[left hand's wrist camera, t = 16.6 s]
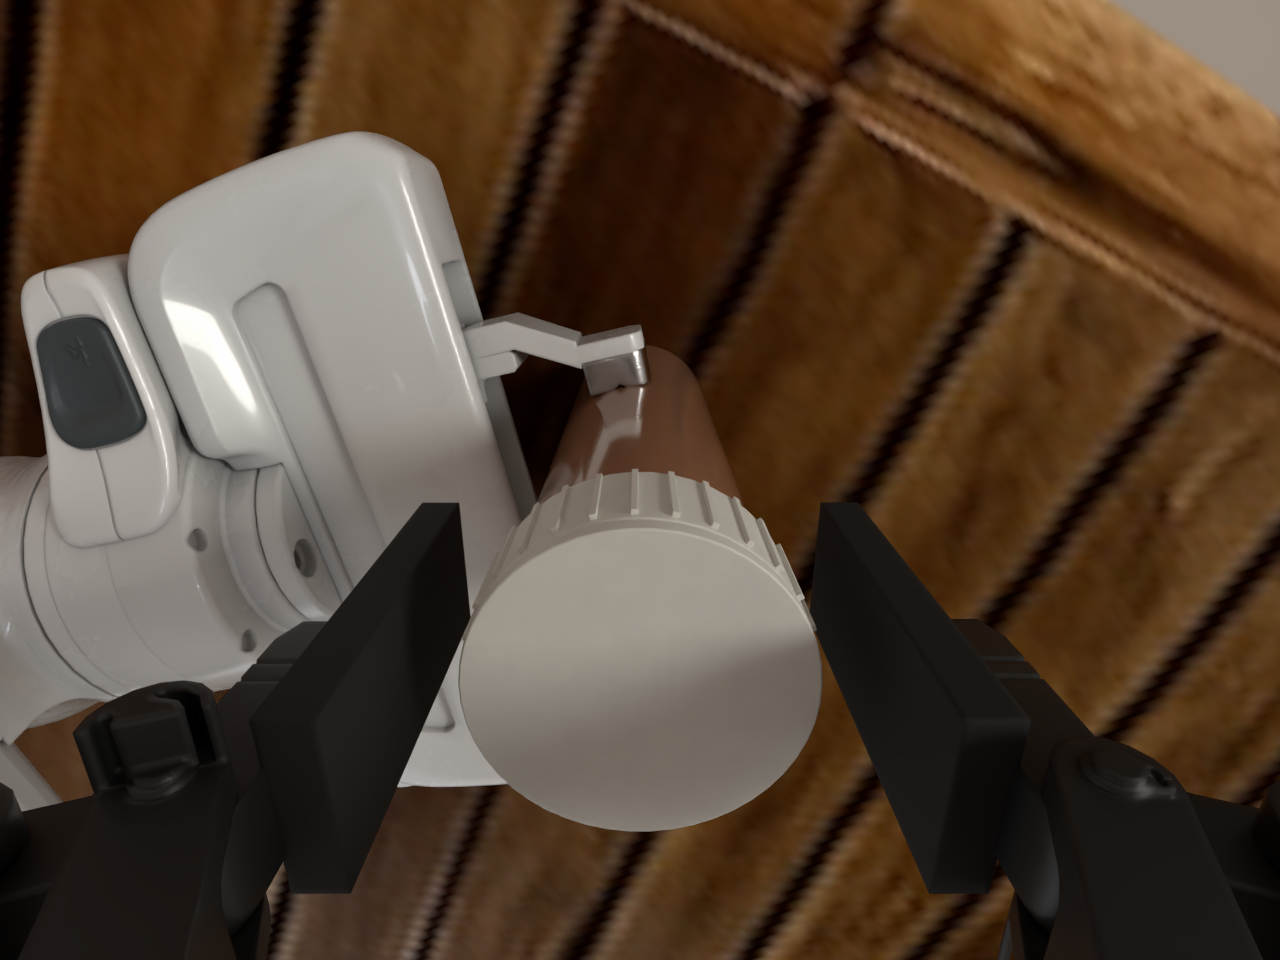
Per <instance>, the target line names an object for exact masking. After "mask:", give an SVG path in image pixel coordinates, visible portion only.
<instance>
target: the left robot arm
mask: <svg viewBox="0 0 1280 960" xmlns="http://www.w3.org/2000/svg"><path fill="white" fill-rule="evenodd" d="M810 614H811V616H812V619H813V621H814V623H815V625H816V629H817V631H815V632H816V635H817V637H818V639H819V641H820V644H821V646H822V648H823V651H824V653H825V655H826V657H827V660H828V662H829V664H830V667H831V669H832V671H833V674H834V676H835V678H836V680H837V683H838V685H839V687H840V690H841V692H842V694H843V696H844V699H845V701H846V703H847V706H848V708H849V710H850V713H851V715H852V717H853V719H854V722H855V724H856V726H857V729H858V731H859V733H860V736H861V738H862V740H863V742H864V745H865V747H866V749H867V752H868V754H869V756H870V758H871V761H872V763H873V765H874V768H875V770H876V772H877V775H878V777H879V779H880V781H881V784H882V786H883V788H884V791H885V793H886V795H887V797H888V800H889V802H890V804H891V807H892V809H893V811H894V814H895V816H896V818H897V820H898V823H899V825H900V827H901V830H902V832H903V834H904V836H905V839H906V841H907V843H908V846H909V848H910V850H911V853H912V855H913V857H914V859H915V862H916V864H917V866H918V869H919V871H920V873H921V876H922V878H923V880H924V882H925V885H926V887H927V889H928V892H929V894H988V893H989V889H990V885H991V881H992V877H993V873H994V869H995V865H996V861H997V859H998V861H999V863H1000V864H1001V866H1002V868H1003V870H1004V871H1005V873H1006V875H1007V877H1008V878H1009V880H1010V882H1011V884H1012V885H1013V887H1014V889H1015V891H1014V895H1013V899H1012V902H1011V906H1010V910H1009V914H1008V918H1007V921H1006V925H1005V929H1004V933H1003V936H1002V940H1001V944H1000V949H999V955H998V960H1009V958H1010V954H1011V951H1012V949H1013V957H1014V960H1280V780H1278V781H1277V782H1275V783H1274V784H1272V785H1271V786H1269V787H1268V789H1267V792H1266V794H1265V796H1264V799H1263V801H1262V804H1261V806H1260V808H1254V807H1250V806H1245V805H1241V804H1236V803H1232V802H1227V801H1223V800H1218V799H1214V798H1209V797H1205V796H1200V795H1196V794H1192V793H1188V792H1186V791H1185V790H1184V788H1183V787H1182V786H1181V784H1180V783H1179V781H1178V780H1177V779H1176V777H1175V776H1174V775H1173V774H1172V773H1171V772H1170V771H1168V770H1167V769H1166V768H1164V767H1163V766H1162V765H1161V764H1159V763H1158V762H1157V761H1156V760H1154V759H1153V758H1151V757H1149V756H1147V755H1145V754H1143V753H1142V752H1140V751H1138V750H1136V749H1134V748H1132V747H1130V746H1128V745H1125V744H1122V743H1118V742H1115V741H1112V740H1109V739H1106V738H1102V737H1095V736H1094V735H1093V734H1092V733H1091V732H1090V730H1089V729H1088V728H1087V727H1086V726H1085V725H1084V724H1083V723H1082V722H1081V720H1080V719H1079V718H1078V717H1077V716H1076V715H1075V714H1074V713H1073V712H1072V710H1071V709H1070V708H1069V707H1068V706H1067V705H1066V704H1065V703H1064V701H1063V700H1062V699H1061V698H1060V697H1059V696H1058V695H1057V694H1056V693H1055V691H1054V690H1053V689H1052V688H1051V687H1050V686H1049V685H1048V684H1047V683H1046V681H1045V680H1044V679H1040V677H1039V674H1038V673H1037V671H1036V670H1035V669H1034V668H1033V667H1032V666H1031V665H1030V664H1029V662H1025V661H1024V657H1023V656H1022V655H1021V654H1020V652H1019V651H1018V650H1017V649H1016V648H1015V647H1014V646H1013V645H1012V644H1011V642H1010V641H1009V640H1008V639H1007V638H1006V637H1005V636H1003V635H1002V634H1000V633H999V632H997V631H995V630H994V629H992V628H991V627H989V626H987V625H986V624H984V623H982V622H981V621H979V620H978V619H950V618H949V616H948V615H947V614H946V613H945V611H944V610H943V609H942V608H941V606H940V605H939V604H938V603H937V601H936V600H935V599H934V598H933V596H932V595H931V594H930V593H929V591H928V590H927V589H926V588H925V586H924V585H923V584H922V583H921V581H920V580H919V579H918V578H917V576H916V575H915V574H914V573H913V571H912V570H911V569H910V568H909V566H908V565H907V564H906V562H905V561H904V560H903V559H902V557H901V556H900V555H899V554H898V552H897V551H896V550H895V549H894V547H893V546H892V545H891V544H890V542H889V541H888V540H887V539H886V537H885V536H884V535H883V534H882V532H881V531H880V530H879V529H878V527H877V526H876V525H875V524H874V522H873V521H872V520H871V519H870V517H869V516H868V515H867V514H866V512H865V511H864V510H863V509H862V507H861V506H860V505H859V504H858V503H821V505H820V515H819V525H818V535H817V545H816V555H815V565H814V575H813V585H812V595H811V605H810ZM470 618H471V615H470V605H469V595H468V585H467V575H466V565H465V555H464V545H463V535H462V525H461V515H460V505H459V503H422V504H421V505H420V506H419V507H418V509H417V510H416V511H415V512H414V514H413V515H412V516H411V517H410V519H409V520H408V521H407V522H406V524H405V525H404V526H403V527H402V529H401V530H400V531H399V532H398V534H397V535H396V536H395V537H394V539H393V540H392V541H391V542H390V544H389V545H388V546H387V547H386V549H385V550H384V551H383V552H382V554H381V555H380V556H379V557H378V559H377V560H376V561H375V562H374V564H373V565H372V566H371V568H370V569H369V570H368V571H367V573H366V574H365V575H364V576H363V578H362V579H361V580H360V581H359V583H358V584H357V585H356V586H355V588H354V589H353V590H352V591H351V593H350V594H349V595H348V596H347V598H346V599H345V600H344V601H343V603H342V604H341V605H340V606H339V608H338V609H337V610H336V611H335V613H334V614H333V615H332V616H331V618H330V619H329V620H328V621H303V622H301V623H300V624H298V625H297V626H295V627H293V628H292V629H290V630H289V631H287V632H285V633H284V634H282V635H281V636H279V637H277V638H276V639H275V640H274V641H273V642H272V643H271V644H270V645H269V646H268V647H267V649H266V650H265V651H264V652H263V653H262V654H261V655H260V656H259V658H258V659H257V662H256V664H252V665H251V667H250V668H249V669H248V670H247V671H246V672H245V673H244V674H243V676H242V677H241V681H240V682H236V683H235V685H234V686H233V687H232V688H231V689H230V690H229V691H228V692H227V694H226V695H225V696H224V697H223V698H222V699H221V700H220V701H219V702H218V704H217V705H216V702H215V698H214V694H213V691H212V690H211V689H209V688H208V687H207V686H205V685H204V684H203V683H199V682H192V681H185V680H181V681H172V682H162V683H157V684H154V685H150V686H147V687H143V688H140V689H136V690H133V691H131V692H129V693H127V694H124V695H122V696H120V697H118V698H116V699H113V700H111V701H109V702H107V703H106V704H104V705H103V706H101V707H100V708H99V709H97V710H96V711H94V712H93V713H91V714H90V715H88V716H87V717H86V718H85V719H84V720H83V721H82V723H81V724H80V725H79V726H78V727H77V728H76V729H75V731H74V732H73V735H74V738H75V741H76V744H77V747H78V749H79V752H80V755H81V758H82V760H83V763H84V766H85V769H86V772H87V774H88V777H89V780H90V783H91V786H92V788H93V791H94V794H93V795H92V796H88V797H85V798H80V799H76V800H71V801H67V802H62V803H58V804H53V805H49V806H44V807H40V808H35V809H31V810H26V811H21V808H20V806H19V804H18V801H17V799H16V796H15V794H14V792H13V790H12V789H11V788H9V787H7V786H6V785H4V784H3V783H1V782H0V960H267V951H268V942H269V934H270V925H271V915H270V908H269V902H268V899H267V895H266V891H267V889H268V887H269V886H270V884H271V882H272V880H273V878H274V877H275V875H276V873H277V871H278V870H279V868H280V866H281V864H282V863H283V861H284V865H285V869H286V873H287V877H288V881H289V885H290V889H291V893H292V894H351V892H352V889H353V887H354V885H355V882H356V880H357V878H358V876H359V873H360V871H361V869H362V866H363V864H364V862H365V859H366V857H367V855H368V853H369V850H370V848H371V846H372V843H373V841H374V839H375V836H376V834H377V832H378V830H379V827H380V825H381V823H382V820H383V818H384V816H385V814H386V811H387V809H388V807H389V804H390V802H391V800H392V797H393V795H394V793H395V791H396V788H397V786H398V784H399V781H400V779H401V777H402V775H403V772H404V770H405V768H406V765H407V763H408V761H409V758H410V756H411V754H412V752H413V749H414V747H415V745H416V742H417V740H418V738H419V736H420V733H421V731H422V729H423V726H424V724H425V722H426V719H427V717H428V715H429V713H430V710H431V708H432V706H433V703H434V701H435V699H436V696H437V694H438V692H439V690H440V687H441V685H442V683H443V680H444V678H445V676H446V674H447V671H448V669H449V667H450V664H451V662H452V660H453V657H454V655H455V653H456V651H457V648H458V646H459V644H460V641H461V639H462V637H463V634H464V632H465V629H466V627H467V625H468V623H469V620H470Z"/></svg>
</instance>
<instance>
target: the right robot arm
mask: <svg viewBox="0 0 1280 960" xmlns="http://www.w3.org/2000/svg"><path fill="white" fill-rule="evenodd" d="M21 312H22V318H23V323H24V329H25V333H26V337H27V342H28V346H29V351H30V355H31V360H32V365H33V369H34V374H35V379H36V384H37V389H38V395H39V400H40V406H41V411H42V418H43V425H44V432H45V440H46V449H47V454H46V455H44V456H43V457H40V458H39V457H27V456H0V782H1V783H3V784H4V785H6V786H7V787H9V788H11V789H12V790H13V792H14V794H15V796H16V799H17V801H18V804H19V806H20V808H21V811H26V810H31V809H35V808H40V807H44V806H49V805H53V804H58V803H62V802H63V801H62V800H61V799H60V797H59V796H58V795H57V794H56V793H55V791H54V790H53V789H52V788H51V787H50V785H49V784H48V783H47V782H46V781H45V779H44V778H43V777H42V776H41V775H40V773H39V772H38V771H37V770H36V768H35V767H34V766H33V765H32V764H31V762H30V761H29V760H28V759H27V758H26V756H25V755H24V754H23V753H22V752H21V750H20V749H19V748H18V747H17V746H16V744H15V743H14V741H15V740H16V739H17V738H18V736H19V735H20V734H21V733H22V732H23V731H24V730H25V729H28V728H33V727H38V726H42V725H45V724H49V723H52V722H56V721H59V720H62V719H65V718H67V717H70V716H72V715H74V714H76V713H78V712H80V711H82V710H84V709H86V708H88V707H90V706H92V705H94V704H96V703H98V702H106V703H107V702H109V701H111V700H113V699H116V698H118V697H120V696H122V695H124V694H127V693H129V692H131V691H133V690H136V689H140V688H143V687H147V686H150V685H154V684H157V683H162V682H172V681H181V680H185V681H192V682H199V683H203V684H204V685H205V686H207V687H208V688H209V689H211V690H212V691H213V692H216V691H221V690H226V689H231V688H232V687H233V686H234V685H235V683H236V682H240V681H241V677H242V676H243V674H244V673H245V672H246V671H247V670H248V669H249V668H250V667H251V665H252V664H256V662H257V659H258V658H259V656H260V655H261V654H262V653H263V652H264V651H265V650H266V649H267V647H268V646H269V645H270V644H271V643H272V642H273V641H274V640H275V639H276V638H277V637H279V636H281V635H282V634H284V633H285V632H287V631H289V630H290V629H292V628H293V627H295V626H297V625H298V624H300V623H301V622H303V621H328V620H329V619H330V618H331V616H332V615H333V614H334V613H335V611H336V610H337V609H338V608H339V606H340V605H341V604H342V603H343V601H344V600H345V599H346V598H347V596H348V595H349V594H350V593H351V591H352V590H353V589H354V588H355V586H356V585H357V584H358V583H359V581H360V580H361V579H362V578H363V576H364V575H365V574H366V573H367V571H368V570H369V569H370V568H371V566H372V565H373V564H374V562H375V561H376V560H377V559H378V557H379V556H380V555H381V554H382V552H383V551H384V550H385V549H386V547H387V546H388V545H389V544H390V542H391V541H392V540H393V539H394V537H395V536H396V535H397V534H398V532H399V531H400V530H401V529H402V527H403V526H404V525H405V524H406V522H407V521H408V520H409V519H410V517H411V516H412V515H413V514H414V512H415V511H416V510H417V509H418V507H419V506H420V505H421V504H422V503H459V505H460V515H461V525H462V535H463V545H464V555H465V565H466V575H467V585H468V595H469V605H470V615H471V616H472V613H473V611H474V609H473V608H472V606H473V603H474V601H475V599H476V597H477V594H478V592H479V590H480V588H481V585H482V583H483V581H484V579H485V576H486V574H487V572H488V570H489V567H490V565H491V563H492V561H493V559H494V556H495V554H496V552H499V553H501V550H502V548H503V546H504V543H505V541H506V539H507V537H508V534H509V532H510V530H511V528H512V527H513V525H515V526H517V527H518V526H519V525H520V524H521V522H522V521H523V520H524V519H525V518H526V517H527V516H528V515H529V514H531V511H532V509H533V506H534V505H535V504H536V503H537V502H538V500H537V497H536V494H535V490H534V487H533V484H532V480H531V477H530V474H529V470H528V467H527V464H526V460H525V457H524V454H523V451H522V447H521V444H520V441H519V437H518V434H517V431H516V427H515V424H514V421H513V417H512V414H511V411H510V407H509V404H508V401H507V397H506V394H505V391H504V387H503V384H502V381H501V377H500V375H504V374H508V373H512V372H515V371H516V370H517V369H518V368H519V366H520V365H521V364H522V363H523V362H524V361H525V360H526V358H527V357H528V355H529V354H531V355H534V356H538V357H541V358H545V359H548V360H552V361H555V362H559V363H563V364H566V365H570V366H573V367H577V368H580V369H582V367H583V370H584V373H585V377H586V381H587V384H588V388H589V391H590V395H591V396H594V395H598V394H603V393H608V392H610V391H613V390H615V389H616V388H617V387H618V386H619V384H621V385H623V386H626V387H634V386H639V385H642V384H645V383H647V382H649V381H651V371H650V366H649V361H648V356H647V351H646V346H645V342H644V338H643V333H642V329H641V325H632V326H626V327H622V328H617V329H613V330H608V331H604V332H600V333H595V334H591V335H587V336H582V334H581V332H578V331H575V330H572V329H569V328H565V327H562V326H559V325H556V324H553V323H550V322H547V321H544V320H540V319H537V318H534V317H531V316H528V315H525V314H522V313H513V314H509V315H505V316H501V317H496V318H492V319H488V320H484V321H483V318H482V314H481V311H480V308H479V304H478V301H477V298H476V294H475V291H474V288H473V284H472V281H471V278H470V274H469V271H468V268H467V264H466V261H465V258H464V254H463V251H462V248H461V244H460V241H459V238H458V235H457V231H456V228H455V225H454V221H453V218H452V215H451V211H450V208H449V205H448V201H447V198H446V194H445V191H444V188H443V184H442V181H441V178H440V175H439V172H438V170H437V168H436V167H435V165H434V164H433V163H432V162H431V161H430V160H429V159H427V158H426V157H424V156H422V155H421V154H419V153H417V152H416V151H414V150H413V149H411V148H409V147H408V146H406V145H404V144H402V143H400V142H398V141H396V140H394V139H392V138H389V137H387V136H384V135H380V134H376V133H370V132H348V133H341V134H337V135H333V136H329V137H325V138H321V139H317V140H314V141H311V142H308V143H305V144H302V145H299V146H296V147H292V148H289V149H286V150H284V151H281V152H278V153H275V154H272V155H270V156H267V157H264V158H261V159H259V160H256V161H254V162H251V163H249V164H246V165H244V166H241V167H239V168H236V169H234V170H231V171H229V172H227V173H225V174H222V175H220V176H218V177H216V178H214V179H211V180H209V181H207V182H205V183H203V184H201V185H199V186H197V187H194V188H192V189H190V190H188V191H186V192H184V193H182V194H181V195H179V196H177V197H175V198H173V199H172V200H170V201H168V202H167V203H166V204H164V205H163V206H161V207H160V208H159V209H157V210H156V211H155V212H154V213H153V214H152V215H151V216H150V217H149V218H148V219H147V220H146V221H145V222H144V223H143V225H142V226H141V227H140V229H139V231H138V232H137V234H136V236H135V238H134V240H133V242H132V245H131V248H130V252H129V254H120V255H112V256H106V257H100V258H94V259H89V260H84V261H80V262H76V263H71V264H67V265H63V266H60V267H56V268H52V269H49V270H45V271H42V272H40V273H37V274H35V275H34V276H32V277H31V278H29V279H28V280H27V281H26V283H25V284H24V286H23V289H22V293H21ZM462 638H463V637H462ZM463 642H464V641H462V639H461V641H460V644H459V646H458V648H457V651H456V653H455V655H454V657H453V660H452V662H451V664H450V667H449V669H448V671H447V674H446V676H445V678H444V680H443V683H442V685H441V687H440V690H439V692H438V694H437V696H436V699H435V701H434V703H433V706H432V708H431V710H430V713H429V715H428V717H427V719H426V722H425V724H424V726H423V729H422V731H421V733H420V736H419V738H418V740H417V742H416V745H415V747H414V749H413V752H412V754H411V756H410V758H409V761H408V763H407V765H406V768H405V770H404V772H403V775H402V777H401V779H400V781H399V784H398V786H397V787H408V786H413V785H415V786H426V787H461V786H483V785H500V784H508V783H507V782H506V781H505V780H504V779H502V778H501V777H500V776H499V775H498V774H497V773H496V772H495V770H494V769H493V768H492V767H491V765H490V764H489V763H488V762H487V761H486V759H485V758H484V757H483V755H482V753H481V752H480V750H479V749H478V747H477V745H476V744H475V742H474V740H473V738H472V736H471V734H470V731H469V729H468V727H467V724H466V722H465V718H464V714H463V711H462V707H461V703H460V695H459V686H458V676H459V661H460V656H461V652H462V647H463Z"/></svg>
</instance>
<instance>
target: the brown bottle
mask: <svg viewBox="0 0 1280 960" xmlns="http://www.w3.org/2000/svg"><path fill="white" fill-rule="evenodd" d="M645 346H646V351H647V356H648V361H649V366H650V371H651V381H649V382H647V383H645V384H642V385H639V386H634V387H626V386H623V385H621V384H619V386H618V387H617V388H616V389H615V390H613V391H610V392H608V393H603V394H598V395H594V396H591V395H590V391H589V388H588V384H587V381H586V377H585V378H584V380H583V382H582V385H581V387H580V390H579V393H578V395H577V398H576V401H575V403H574V406H573V409H572V411H571V414H570V417H569V419H568V422H567V425H566V427H565V430H564V433H563V435H562V438H561V440H560V443H559V446H558V448H557V451H556V454H555V456H554V459H553V462H552V464H551V467H550V470H549V472H548V475H547V478H546V480H545V483H544V486H543V488H542V491H541V494H540V496H539V499H538V502H539V503H540V504H543V503H544V502H545V501H547V500H548V499H549V498H551V497H552V496H554V495H556V494H558V493H560V492H561V491H562V487H563V486H565V485H567V484H568V485H569V487H571V486H574V485H576V484H579V483H581V482H584V481H586V480H589V479H593V478H595V477H596V474H599V473H602V475H603V476H605V475H609V474H617V473H626V472H632V469H638V472H655V473H663V474H668V471H672V472H674V473H675V475H676V476H680V477H684V478H687V479H691V480H694V481H697V482H699V483H702V481H703V480H704V481H706V482H709V486H710V487H712V488H714V489H716V490H718V491H719V492H721V493H723V494H725V495H727V496H728V497H730V498H731V499H732V498H733V497H734V496H735V497H736V498H738V499H739V501H740V503H741V506H742V507H744V508H745V506H744V503H743V500H742V498H741V495H740V492H739V490H738V487H737V484H736V482H735V479H734V477H733V474H732V471H731V469H730V466H729V463H728V461H727V458H726V455H725V453H724V450H723V447H722V445H721V442H720V440H719V437H718V434H717V432H716V429H715V426H714V424H713V421H712V418H711V416H710V413H709V410H708V408H707V405H706V403H705V400H704V397H703V395H702V392H701V389H700V387H699V384H698V382H697V380H696V378H695V376H694V374H693V373H692V371H691V370H690V368H689V367H688V366H687V365H686V364H685V363H684V362H683V361H682V360H681V359H679V358H678V357H677V356H675V355H674V354H672V353H671V352H669V351H666V350H664V349H662V348H658V347H655V346H649V345H645ZM745 509H746V508H745Z"/></svg>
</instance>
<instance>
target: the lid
mask: <svg viewBox="0 0 1280 960" xmlns="http://www.w3.org/2000/svg"><path fill="white" fill-rule="evenodd" d="M472 608H473V609H474V611H473V613H472V616H471V618H470V620H469V623H468V625H467V627H466V629H465V632H464V634H463V638H462V641H464V642H463V647H462V652H461V656H460V661H459V676H458V686H459V695H460V703H461V707H462V711H463V714H464V718H465V722H466V724H467V727H468V729H469V731H470V734H471V736H472V738H473V740H474V742H475V744H476V745H477V747H478V749H479V750H480V752H481V753H482V755H483V757H484V758H485V759H486V761H487V762H488V763H489V764H490V765H491V767H492V768H493V769H494V770H495V772H496V773H497V774H498V775H499V776H500V777H501V778H502V779H504V780H505V781H506V782H507V783H508V784H509V785H510V786H511V787H512V788H513V789H515V790H516V791H518V792H519V793H520V794H522V795H523V796H524V797H526V798H527V799H528V800H530V801H532V802H534V803H535V804H537V805H539V806H541V807H542V808H544V809H546V810H548V811H550V812H553V813H555V814H557V815H560V816H562V817H564V818H567V819H570V820H573V821H576V822H579V823H583V824H586V825H590V826H595V827H600V828H605V829H612V830H622V831H659V830H669V829H676V828H681V827H686V826H691V825H695V824H698V823H701V822H705V821H708V820H711V819H714V818H717V817H719V816H721V815H724V814H726V813H728V812H731V811H733V810H735V809H737V808H738V807H740V806H742V805H744V804H745V803H747V802H749V801H751V800H752V799H754V798H755V797H756V796H758V795H759V794H761V793H762V792H763V791H765V790H766V789H767V788H769V787H770V786H771V785H772V784H773V783H774V782H775V781H776V780H777V779H778V778H779V777H780V776H782V775H783V774H784V772H785V771H786V770H787V769H788V768H789V766H790V765H791V764H792V763H793V762H794V760H795V759H796V758H797V756H798V755H799V753H800V752H801V750H802V748H803V747H804V745H805V744H806V742H807V740H808V738H809V735H810V733H811V731H812V729H813V726H814V724H815V721H816V717H817V714H818V710H819V706H820V702H821V693H822V685H823V680H822V662H821V657H820V652H819V647H818V643H817V640H816V638H815V635H814V631H817V629H816V625H815V623H814V621H813V619H812V616H811V614H810V612H809V610H808V607H807V605H806V603H805V601H804V596H803V593H802V591H801V589H800V587H799V584H798V582H797V580H796V578H795V576H794V573H793V571H792V569H791V567H790V564H789V562H788V560H787V558H786V555H785V553H784V551H783V549H782V547H781V545H780V544H777V545H775V544H774V542H773V540H772V538H771V537H770V535H769V533H768V530H767V528H766V525H765V523H764V521H763V520H762V519H761V518H759V519H758V520H756V519H755V518H754V517H753V516H752V515H751V514H750V513H749V512H748V511H747V510H746V509H745V508H744V507H742V506H741V503H740V501H739V499H738V498H736V497H735V496H734V497H733V498H732V499H731V498H730V497H728V496H727V495H725V494H723V493H721V492H719V491H718V490H716V489H714V488H712V487H710V486H709V482H706V481H704V480H703V481H702V483H699V482H697V481H694V480H691V479H687V478H684V477H680V476H676V475H675V473H674V472H672V471H668V474H663V473H655V472H638V469H632V472H626V473H617V474H609V475H605V476H603V475H602V473H599V474H596V477H595V478H593V479H589V480H586V481H584V482H581V483H579V484H576V485H574V486H571V487H569V485H568V484H567V485H565V486H563V487H562V491H561V492H560V493H558V494H556V495H554V496H552V497H551V498H549V499H548V500H547V501H545V502H544V503H543V504H540V503H539V502H537V503H536V504H535V505H534V506H533V509H532V511H531V514H529V515H528V516H527V517H526V518H525V519H524V520H523V521H522V522H521V524H520V525H519V526H518V527H517V526H515V525H513V527H512V528H511V530H510V532H509V534H508V537H507V539H506V541H505V543H504V546H503V548H502V550H501V553H499V552H496V554H495V556H494V559H493V561H492V563H491V565H490V567H489V570H488V572H487V574H486V576H485V579H484V581H483V583H482V585H481V588H480V590H479V592H478V594H477V597H476V599H475V601H474V603H473V606H472Z"/></svg>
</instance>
